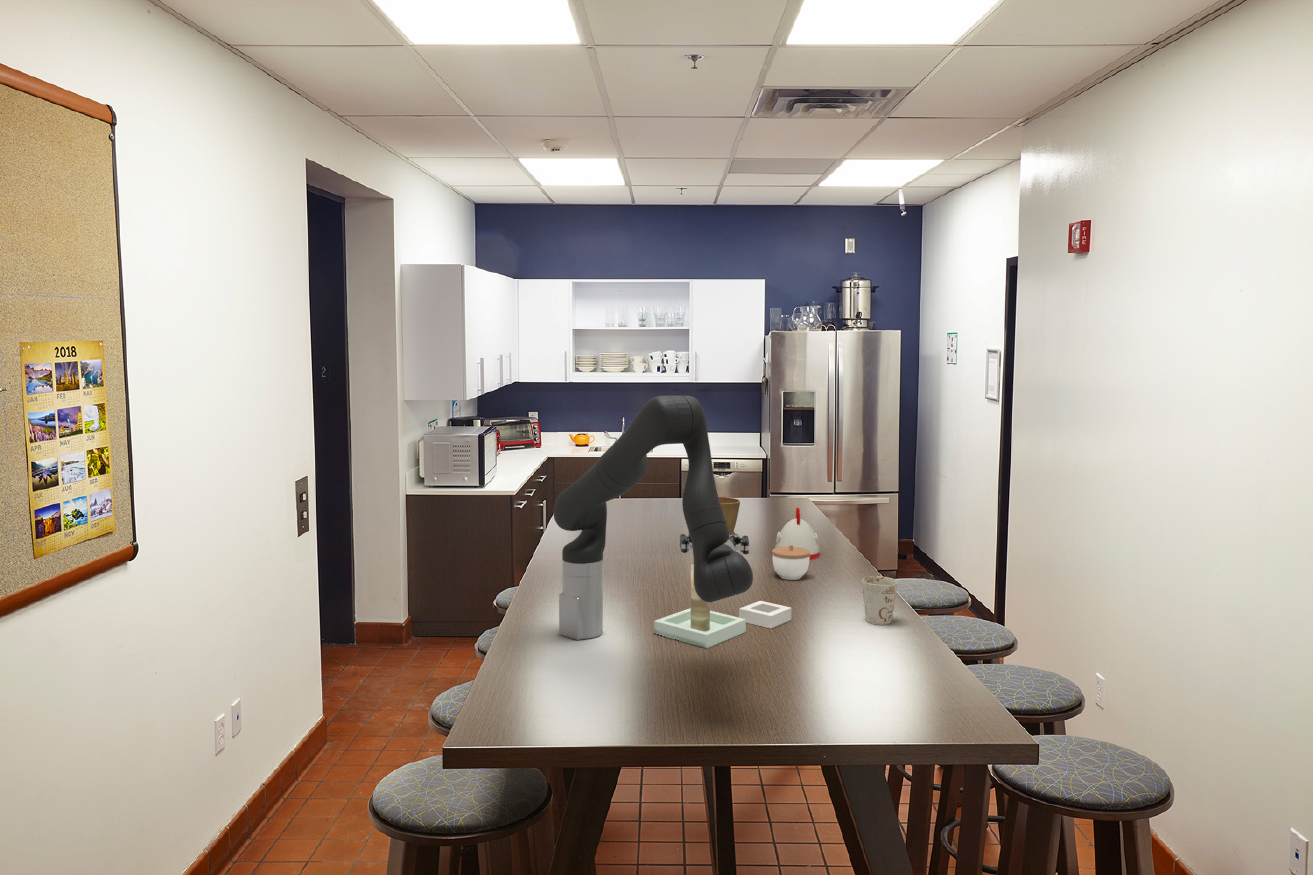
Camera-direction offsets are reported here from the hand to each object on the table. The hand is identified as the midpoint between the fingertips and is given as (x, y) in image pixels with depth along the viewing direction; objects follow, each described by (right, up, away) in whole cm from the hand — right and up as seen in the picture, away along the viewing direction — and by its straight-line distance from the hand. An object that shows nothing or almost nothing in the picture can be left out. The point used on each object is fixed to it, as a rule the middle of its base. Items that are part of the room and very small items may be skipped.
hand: (712, 535), depth 190 cm
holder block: (+14, -23, +23) cm, 36 cm away
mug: (+41, -23, +25) cm, 53 cm away
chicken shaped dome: (+33, -17, +91) cm, 98 cm away
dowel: (-2, -23, +13) cm, 26 cm away
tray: (-2, -24, +13) cm, 27 cm away
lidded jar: (+26, -19, +64) cm, 72 cm away
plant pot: (+8, -15, +100) cm, 102 cm away
